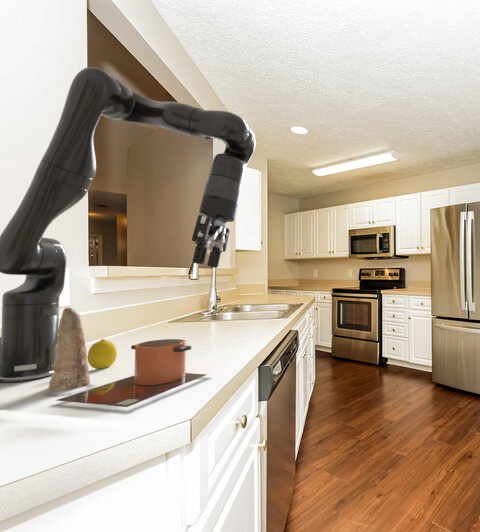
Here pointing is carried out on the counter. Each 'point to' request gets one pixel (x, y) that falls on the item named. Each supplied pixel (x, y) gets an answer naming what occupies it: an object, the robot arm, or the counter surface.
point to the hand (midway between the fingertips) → (205, 265)
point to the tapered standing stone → (70, 354)
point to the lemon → (102, 354)
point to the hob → (126, 392)
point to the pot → (159, 361)
